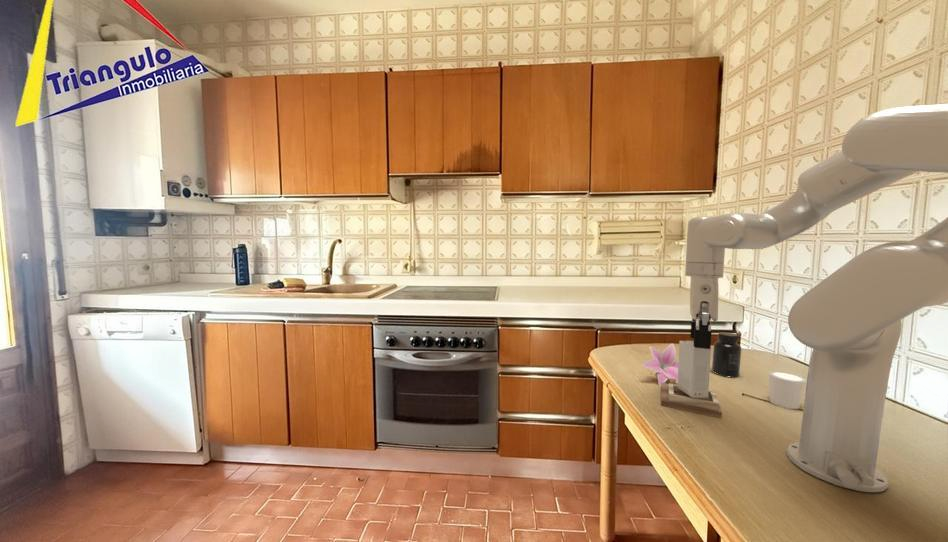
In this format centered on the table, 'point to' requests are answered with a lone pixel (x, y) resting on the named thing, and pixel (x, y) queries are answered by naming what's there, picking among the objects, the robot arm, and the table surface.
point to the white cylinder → (786, 389)
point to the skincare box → (693, 369)
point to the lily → (663, 364)
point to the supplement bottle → (727, 355)
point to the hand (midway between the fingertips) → (699, 342)
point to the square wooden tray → (689, 400)
